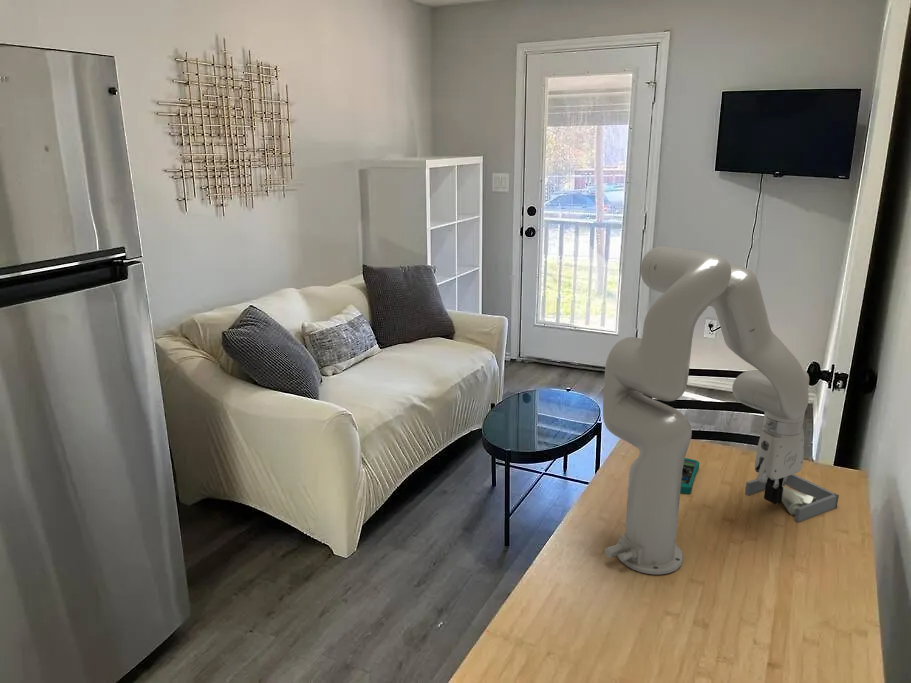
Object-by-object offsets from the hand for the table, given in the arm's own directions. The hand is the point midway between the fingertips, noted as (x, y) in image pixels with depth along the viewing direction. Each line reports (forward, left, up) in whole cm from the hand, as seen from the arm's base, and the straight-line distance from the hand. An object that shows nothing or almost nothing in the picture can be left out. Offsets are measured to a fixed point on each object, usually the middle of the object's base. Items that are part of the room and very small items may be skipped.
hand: (772, 500), depth 145 cm
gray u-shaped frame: (+6, 0, -2) cm, 6 cm away
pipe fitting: (+3, -2, -2) cm, 5 cm away
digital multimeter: (-8, +20, -2) cm, 21 cm away
